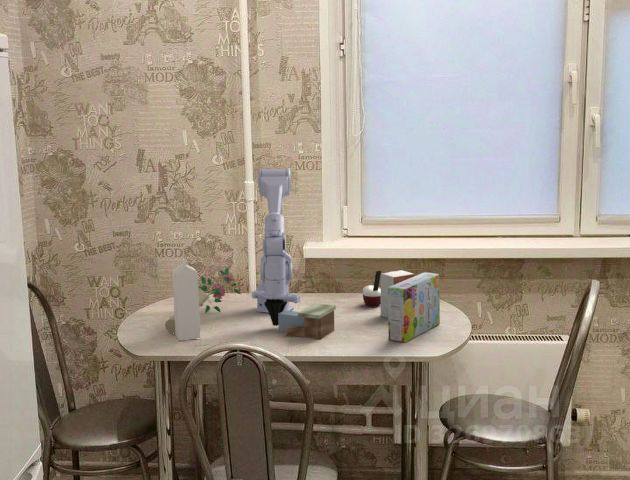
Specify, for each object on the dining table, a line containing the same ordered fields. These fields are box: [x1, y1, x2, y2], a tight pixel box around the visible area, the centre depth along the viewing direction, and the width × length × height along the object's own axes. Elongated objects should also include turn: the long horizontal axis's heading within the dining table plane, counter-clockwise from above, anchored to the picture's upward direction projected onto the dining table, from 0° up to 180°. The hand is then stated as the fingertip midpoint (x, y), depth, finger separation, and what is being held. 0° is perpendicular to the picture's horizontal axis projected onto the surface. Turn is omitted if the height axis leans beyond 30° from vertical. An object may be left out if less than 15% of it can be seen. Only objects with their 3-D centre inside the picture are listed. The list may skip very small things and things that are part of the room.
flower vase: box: [164, 267, 242, 335], centre depth 237 cm, size 12×12×35 cm
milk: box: [172, 257, 201, 341], centre depth 217 cm, size 6×6×22 cm
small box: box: [380, 269, 415, 318], centre depth 237 cm, size 8×6×13 cm
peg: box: [278, 310, 305, 333], centre depth 223 cm, size 10×4×5 cm, turn 64°
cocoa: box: [362, 270, 382, 308], centre depth 248 cm, size 10×6×12 cm, turn 177°
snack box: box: [387, 272, 441, 343], centre depth 220 cm, size 21×6×15 cm, turn 145°
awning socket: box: [285, 302, 337, 340], centre depth 221 cm, size 10×12×7 cm
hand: (276, 324), depth 226 cm, fingers closed
